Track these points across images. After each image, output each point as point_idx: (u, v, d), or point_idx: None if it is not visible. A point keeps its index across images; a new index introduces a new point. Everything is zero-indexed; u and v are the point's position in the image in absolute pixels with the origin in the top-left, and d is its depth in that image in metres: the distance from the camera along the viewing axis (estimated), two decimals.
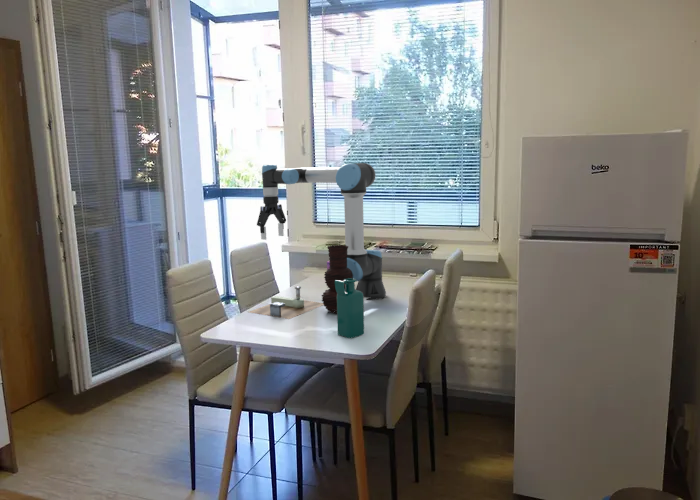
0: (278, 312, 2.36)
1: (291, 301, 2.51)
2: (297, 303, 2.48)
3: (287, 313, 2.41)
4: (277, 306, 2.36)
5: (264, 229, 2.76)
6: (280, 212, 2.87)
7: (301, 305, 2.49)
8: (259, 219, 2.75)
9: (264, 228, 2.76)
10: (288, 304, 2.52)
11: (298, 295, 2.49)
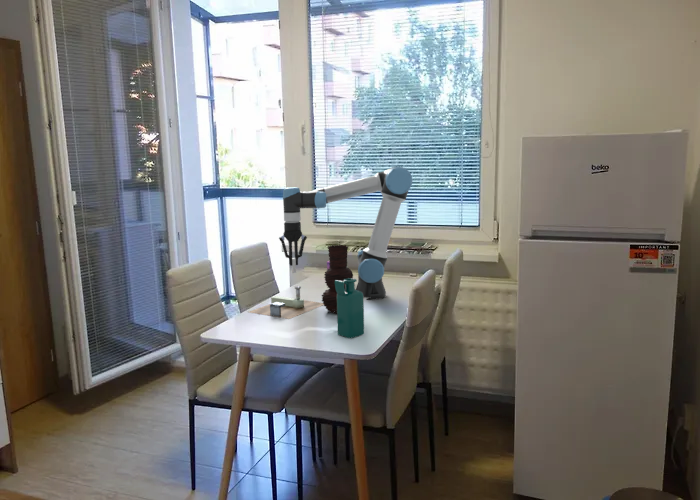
0: (278, 312, 2.36)
1: (291, 301, 2.51)
2: (297, 303, 2.48)
3: (287, 313, 2.41)
4: (277, 306, 2.36)
5: (292, 262, 2.56)
6: (301, 244, 2.57)
7: (301, 305, 2.49)
8: (284, 251, 2.56)
9: (292, 260, 2.56)
10: (288, 304, 2.52)
11: (298, 295, 2.49)
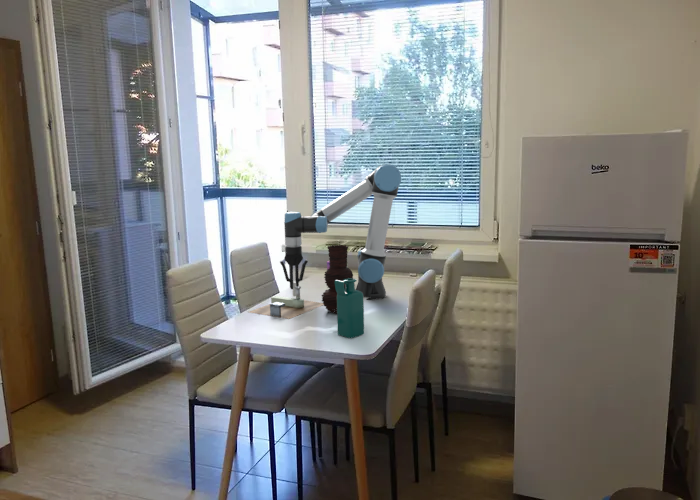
0: (278, 312, 2.36)
1: (291, 301, 2.51)
2: (297, 303, 2.48)
3: (287, 313, 2.41)
4: (277, 306, 2.36)
5: (293, 285, 2.58)
6: (302, 268, 2.58)
7: (301, 305, 2.49)
8: None
9: (293, 284, 2.58)
10: (288, 304, 2.52)
11: (298, 295, 2.49)
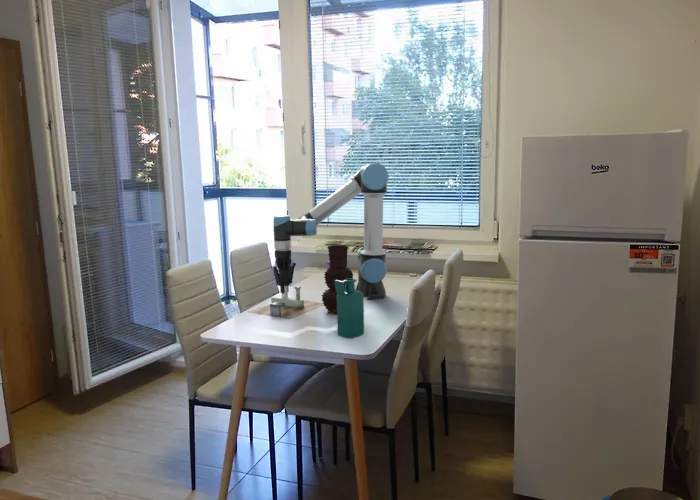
0: (278, 312, 2.36)
1: (291, 301, 2.51)
2: (297, 303, 2.48)
3: (287, 313, 2.41)
4: (277, 306, 2.36)
5: (284, 289, 2.56)
6: (290, 271, 2.58)
7: (301, 305, 2.49)
8: (276, 280, 2.53)
9: (284, 288, 2.56)
10: (288, 304, 2.52)
11: (298, 295, 2.49)
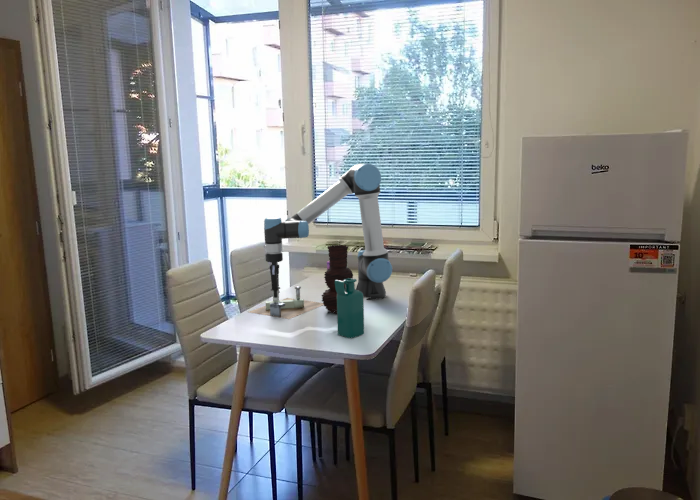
0: (278, 312, 2.36)
1: (292, 302, 2.49)
2: (301, 303, 2.49)
3: (287, 313, 2.41)
4: (277, 306, 2.36)
5: (277, 293, 2.50)
6: None
7: (303, 304, 2.50)
8: (273, 284, 2.45)
9: (277, 292, 2.50)
10: (288, 306, 2.49)
11: (298, 295, 2.49)
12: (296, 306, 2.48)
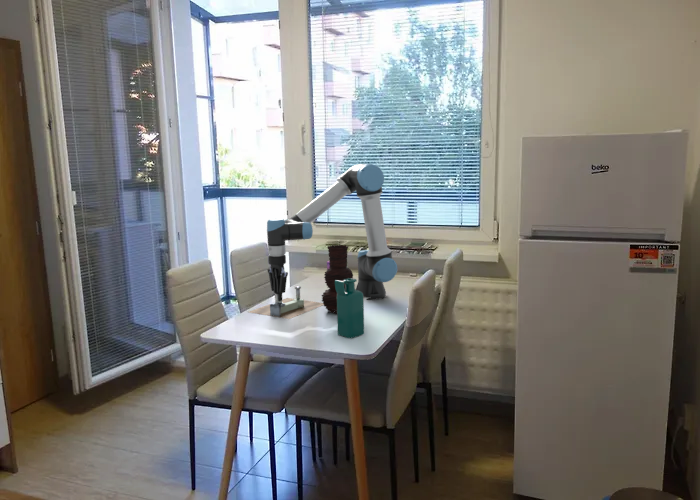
0: (278, 312, 2.36)
1: (296, 303, 2.47)
2: (303, 302, 2.50)
3: (287, 313, 2.41)
4: (277, 306, 2.36)
5: None
6: None
7: None
8: (282, 287, 2.40)
9: None
10: (293, 307, 2.46)
11: (298, 295, 2.49)
12: (300, 306, 2.49)
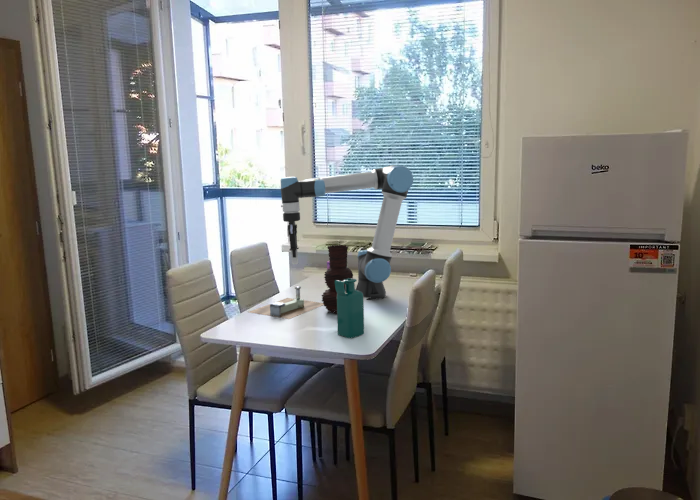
0: (278, 312, 2.36)
1: (296, 303, 2.47)
2: (303, 302, 2.50)
3: (287, 313, 2.41)
4: (277, 306, 2.36)
5: (296, 253, 2.50)
6: None
7: None
8: (292, 243, 2.46)
9: (296, 252, 2.50)
10: (293, 307, 2.46)
11: (298, 295, 2.49)
12: (300, 306, 2.49)
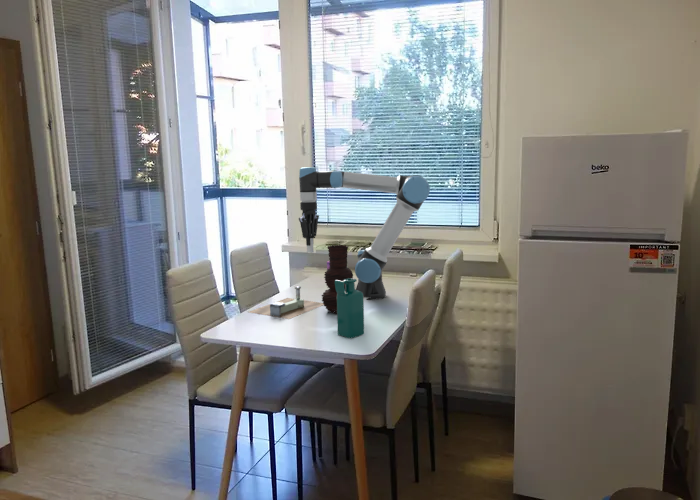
0: (278, 312, 2.36)
1: (296, 303, 2.47)
2: (303, 302, 2.50)
3: (287, 313, 2.41)
4: (277, 306, 2.36)
5: (310, 241, 2.57)
6: (314, 223, 2.60)
7: None
8: (303, 232, 2.54)
9: (310, 240, 2.57)
10: (293, 307, 2.46)
11: (298, 295, 2.49)
12: (300, 306, 2.49)
